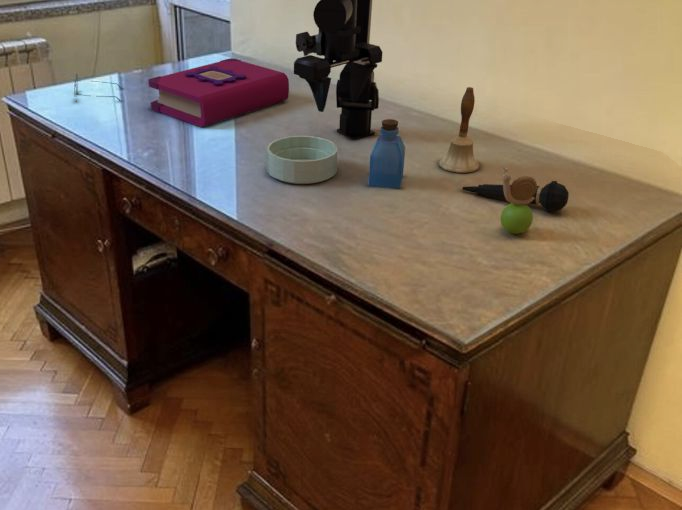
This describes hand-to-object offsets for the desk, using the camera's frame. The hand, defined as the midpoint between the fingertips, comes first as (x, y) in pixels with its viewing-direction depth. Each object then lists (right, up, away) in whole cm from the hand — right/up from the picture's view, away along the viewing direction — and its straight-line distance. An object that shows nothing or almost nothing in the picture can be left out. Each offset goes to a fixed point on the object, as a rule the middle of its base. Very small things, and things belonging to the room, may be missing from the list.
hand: (337, 106), depth 149 cm
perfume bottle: (+10, -14, +5) cm, 17 cm away
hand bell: (+26, -9, +12) cm, 30 cm away
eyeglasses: (-59, +18, +48) cm, 78 cm away
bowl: (-7, -11, +8) cm, 15 cm away
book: (-27, +13, +43) cm, 53 cm away
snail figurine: (+30, -27, -13) cm, 42 cm away
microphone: (+34, -19, -3) cm, 39 cm away
